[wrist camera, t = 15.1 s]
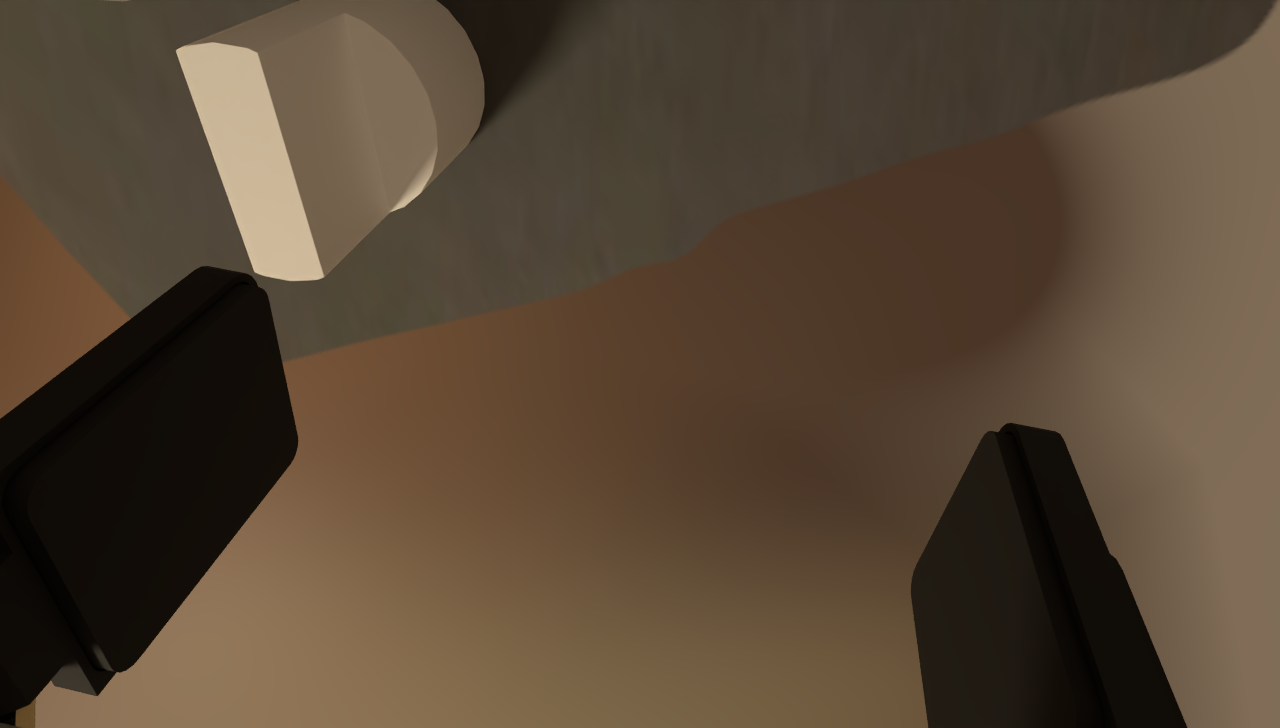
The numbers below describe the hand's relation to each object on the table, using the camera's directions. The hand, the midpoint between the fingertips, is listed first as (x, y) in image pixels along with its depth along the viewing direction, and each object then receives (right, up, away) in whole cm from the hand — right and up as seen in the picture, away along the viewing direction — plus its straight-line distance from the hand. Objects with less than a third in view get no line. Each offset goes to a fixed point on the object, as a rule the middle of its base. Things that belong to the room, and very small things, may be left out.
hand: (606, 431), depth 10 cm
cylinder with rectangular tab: (-11, +15, +27) cm, 33 cm away
